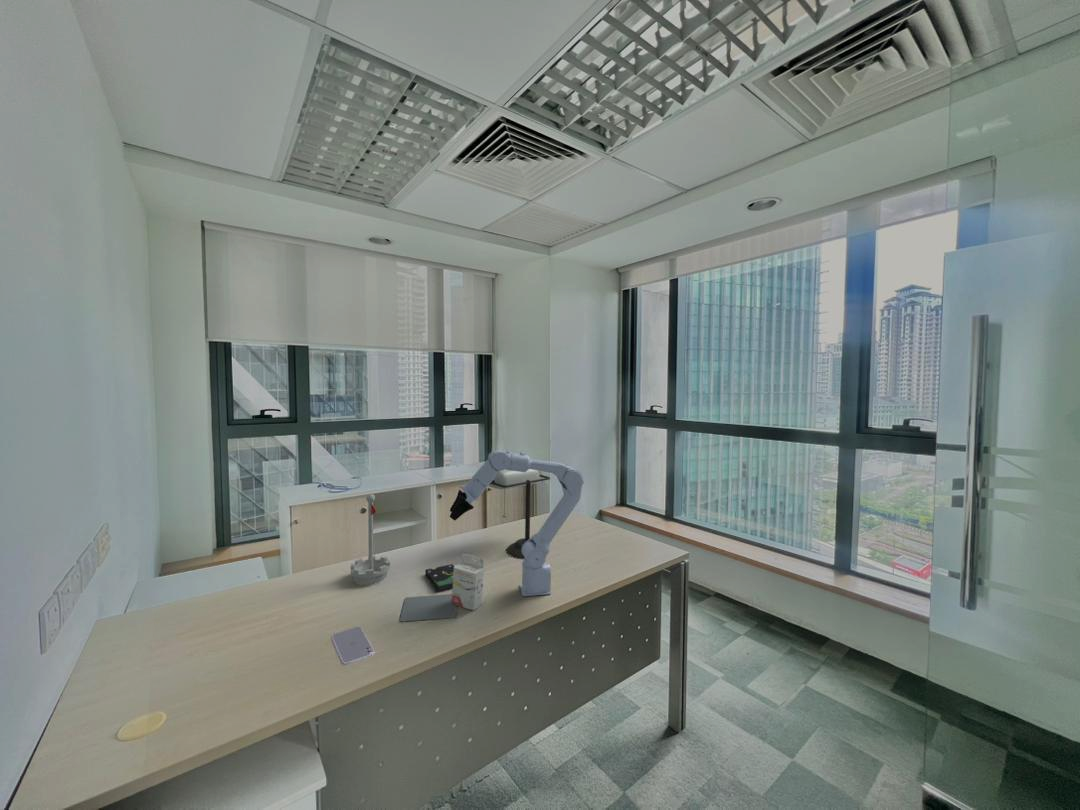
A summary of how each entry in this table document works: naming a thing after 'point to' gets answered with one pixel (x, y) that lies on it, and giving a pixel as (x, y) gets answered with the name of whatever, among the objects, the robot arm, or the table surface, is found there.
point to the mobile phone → (352, 645)
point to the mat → (428, 608)
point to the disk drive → (441, 577)
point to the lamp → (517, 479)
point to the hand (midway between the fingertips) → (452, 515)
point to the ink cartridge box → (468, 582)
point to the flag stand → (370, 557)
